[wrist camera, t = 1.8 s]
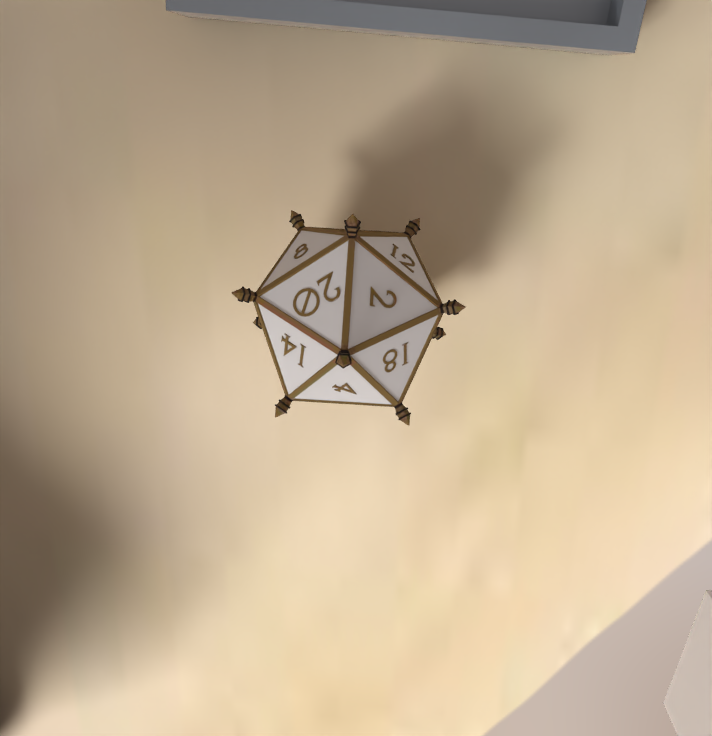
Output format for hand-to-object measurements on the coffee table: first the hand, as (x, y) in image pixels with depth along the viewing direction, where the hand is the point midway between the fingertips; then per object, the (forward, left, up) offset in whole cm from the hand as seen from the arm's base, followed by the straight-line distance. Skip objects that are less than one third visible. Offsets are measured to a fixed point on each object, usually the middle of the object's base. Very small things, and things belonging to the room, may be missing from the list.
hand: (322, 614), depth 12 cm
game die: (0, 0, -22) cm, 22 cm away
